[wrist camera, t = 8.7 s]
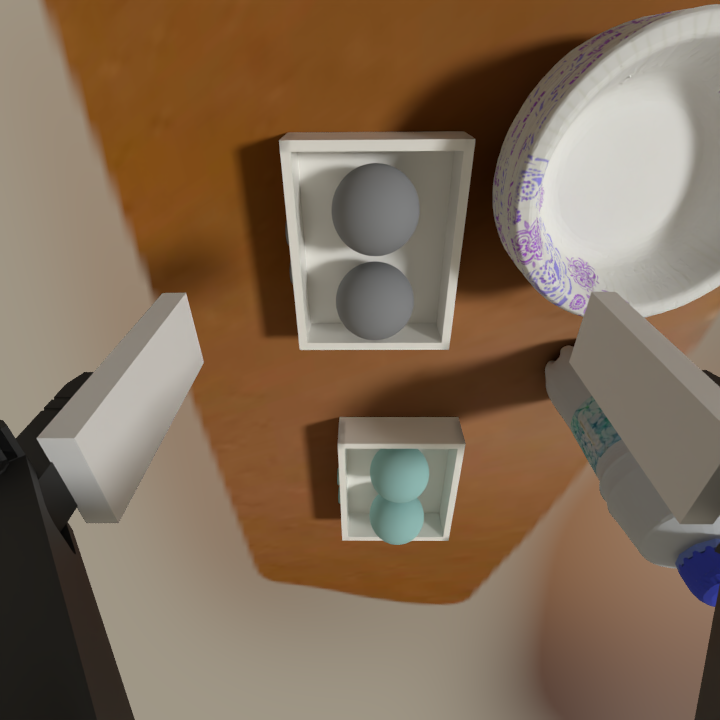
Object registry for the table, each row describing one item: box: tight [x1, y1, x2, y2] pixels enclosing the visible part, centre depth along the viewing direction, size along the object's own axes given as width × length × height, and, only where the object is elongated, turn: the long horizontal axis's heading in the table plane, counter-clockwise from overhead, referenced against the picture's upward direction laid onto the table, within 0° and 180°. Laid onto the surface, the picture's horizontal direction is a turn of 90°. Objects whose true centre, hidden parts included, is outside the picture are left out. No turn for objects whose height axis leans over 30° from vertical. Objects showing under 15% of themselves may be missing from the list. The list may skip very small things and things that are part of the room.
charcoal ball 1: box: [332, 163, 420, 256], centre depth 27 cm, size 6×6×6 cm
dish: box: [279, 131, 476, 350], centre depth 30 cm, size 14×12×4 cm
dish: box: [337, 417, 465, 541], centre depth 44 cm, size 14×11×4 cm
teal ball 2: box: [369, 494, 424, 545], centre depth 44 cm, size 6×6×6 cm
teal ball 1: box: [370, 449, 429, 503], centre depth 41 cm, size 6×6×6 cm
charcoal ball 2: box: [336, 261, 414, 340], centre depth 31 cm, size 6×6×6 cm
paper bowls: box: [493, 4, 720, 317], centre depth 26 cm, size 15×15×8 cm
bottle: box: [545, 345, 720, 607], centre depth 29 cm, size 7×7×20 cm
